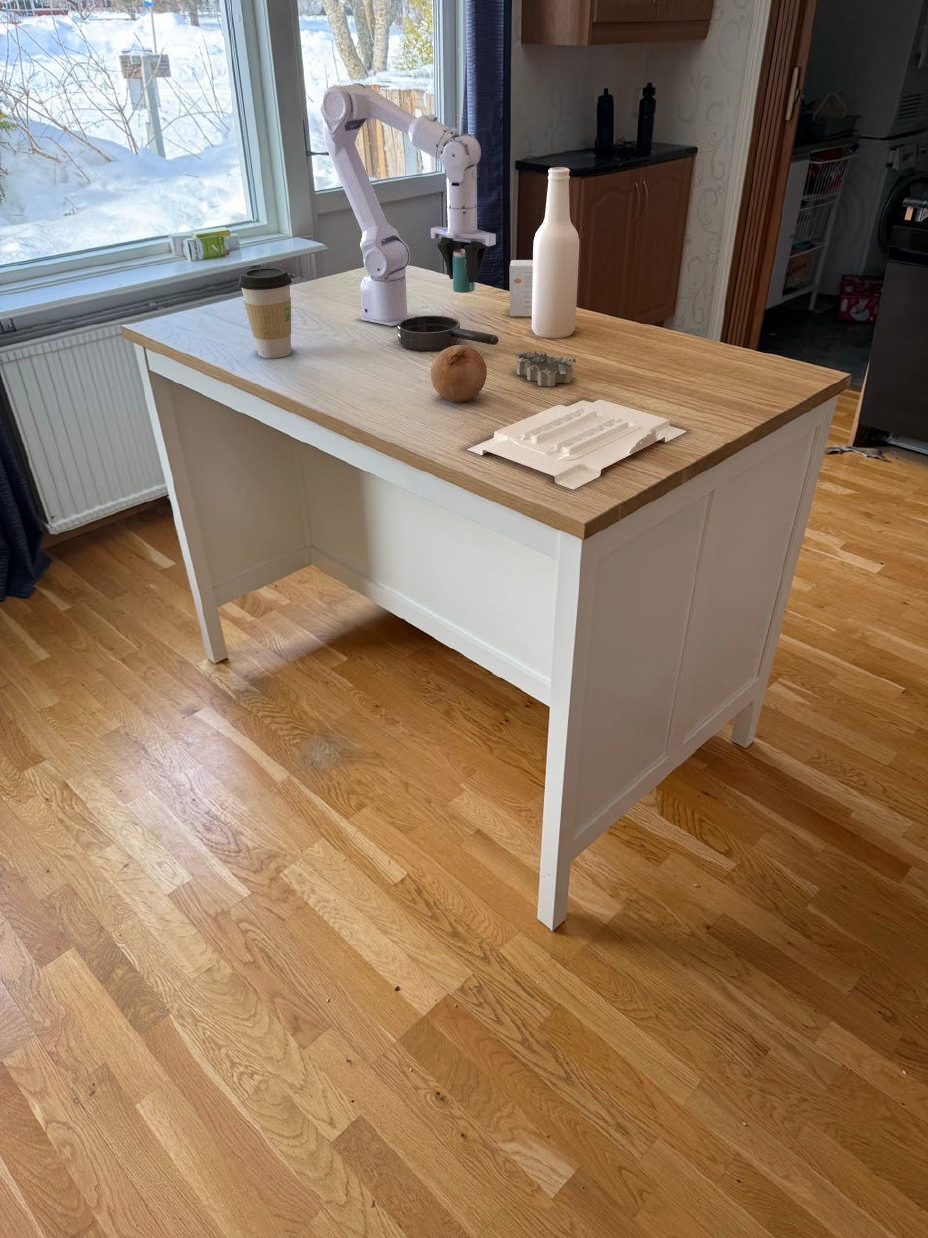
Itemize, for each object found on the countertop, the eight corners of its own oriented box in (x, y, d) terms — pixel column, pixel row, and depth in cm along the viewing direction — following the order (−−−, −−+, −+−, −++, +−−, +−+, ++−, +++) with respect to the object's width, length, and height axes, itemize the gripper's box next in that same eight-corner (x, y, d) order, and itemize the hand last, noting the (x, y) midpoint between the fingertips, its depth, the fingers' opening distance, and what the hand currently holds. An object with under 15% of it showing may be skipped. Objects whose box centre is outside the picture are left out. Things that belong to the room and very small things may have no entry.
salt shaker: (448, 290, 181) (447, 251, 177) (461, 286, 184) (461, 247, 180) (466, 293, 179) (465, 254, 175) (479, 289, 182) (478, 249, 177)
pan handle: (448, 337, 173) (448, 327, 172) (454, 334, 175) (453, 325, 174) (494, 346, 168) (494, 337, 167) (500, 344, 169) (500, 334, 168)
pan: (386, 344, 177) (385, 326, 175) (425, 329, 185) (424, 312, 183) (434, 355, 171) (433, 336, 169) (472, 339, 179) (472, 321, 177)
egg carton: (577, 382, 157) (579, 359, 155) (540, 389, 154) (541, 366, 152) (546, 365, 165) (547, 342, 163) (510, 371, 162) (511, 349, 160)
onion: (465, 423, 150) (465, 380, 141) (420, 399, 153) (417, 355, 144) (497, 388, 154) (499, 344, 145) (452, 365, 156) (451, 321, 148)
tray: (465, 449, 133) (465, 425, 131) (581, 405, 150) (583, 384, 148) (574, 490, 121) (576, 464, 119) (686, 437, 138) (690, 414, 136)
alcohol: (569, 340, 177) (577, 172, 161) (526, 336, 180) (529, 171, 163) (579, 327, 184) (587, 165, 167) (537, 324, 187) (542, 164, 170)
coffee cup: (310, 348, 176) (300, 268, 168) (281, 363, 169) (270, 280, 160) (268, 343, 180) (257, 264, 171) (238, 357, 172) (225, 276, 164)
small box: (547, 309, 196) (548, 259, 190) (546, 317, 191) (548, 265, 185) (510, 309, 197) (510, 259, 191) (508, 316, 192) (509, 265, 186)
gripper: (419, 206, 174) (423, 279, 181) (480, 212, 166) (481, 288, 174) (442, 200, 178) (444, 272, 186) (502, 207, 171) (501, 281, 179)
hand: (463, 279), depth 180 cm, fingers closed on salt shaker, 4 cm apart
